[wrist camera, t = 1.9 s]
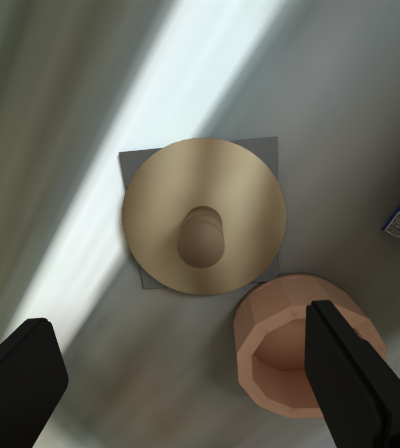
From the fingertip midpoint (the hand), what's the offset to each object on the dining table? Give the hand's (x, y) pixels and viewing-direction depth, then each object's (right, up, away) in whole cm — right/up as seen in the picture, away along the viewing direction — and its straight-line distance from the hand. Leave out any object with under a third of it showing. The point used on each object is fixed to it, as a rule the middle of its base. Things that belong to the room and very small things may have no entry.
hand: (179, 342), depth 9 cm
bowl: (+10, -6, +17) cm, 21 cm away
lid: (+1, +5, +13) cm, 14 cm away
